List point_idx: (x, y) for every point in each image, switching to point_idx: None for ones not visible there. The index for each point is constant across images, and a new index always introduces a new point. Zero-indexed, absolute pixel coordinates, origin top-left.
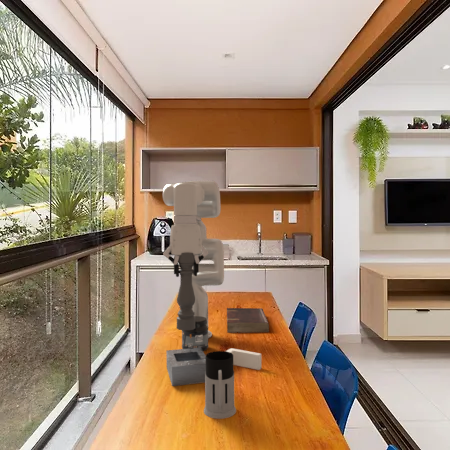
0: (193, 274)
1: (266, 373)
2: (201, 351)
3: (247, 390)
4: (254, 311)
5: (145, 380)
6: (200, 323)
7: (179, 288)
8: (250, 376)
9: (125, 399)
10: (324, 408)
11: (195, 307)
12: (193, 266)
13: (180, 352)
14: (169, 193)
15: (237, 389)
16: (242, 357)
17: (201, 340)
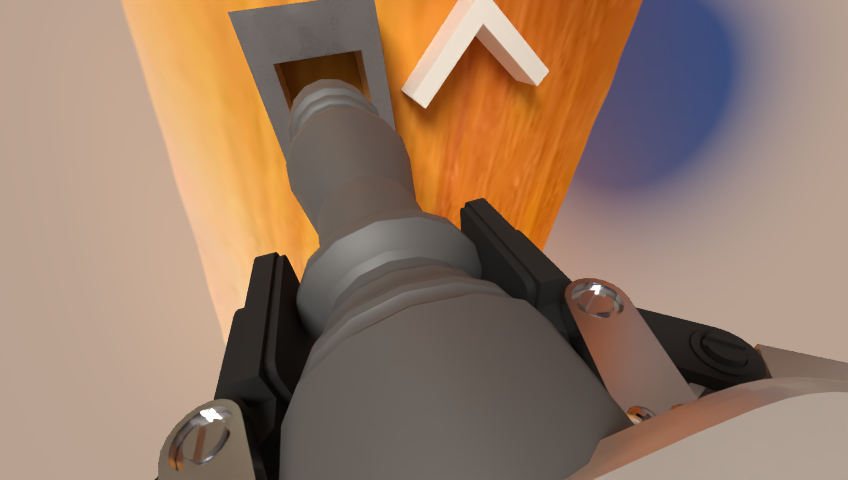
0: (461, 216)
1: (523, 105)
2: (377, 51)
3: (460, 192)
4: None
5: (203, 127)
6: None
7: (310, 220)
8: (484, 121)
9: (201, 234)
10: (543, 247)
11: None
12: (504, 274)
13: (298, 51)
14: None
15: (443, 188)
16: (497, 47)
17: None
